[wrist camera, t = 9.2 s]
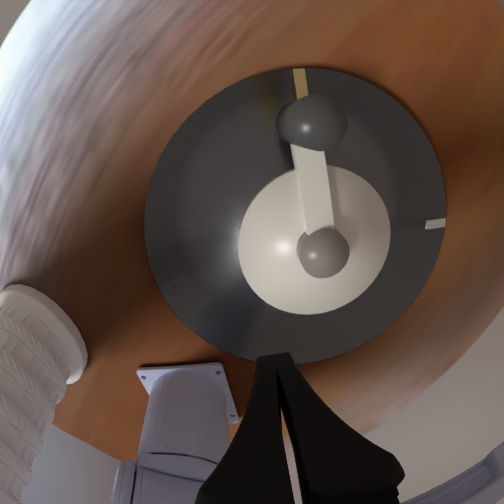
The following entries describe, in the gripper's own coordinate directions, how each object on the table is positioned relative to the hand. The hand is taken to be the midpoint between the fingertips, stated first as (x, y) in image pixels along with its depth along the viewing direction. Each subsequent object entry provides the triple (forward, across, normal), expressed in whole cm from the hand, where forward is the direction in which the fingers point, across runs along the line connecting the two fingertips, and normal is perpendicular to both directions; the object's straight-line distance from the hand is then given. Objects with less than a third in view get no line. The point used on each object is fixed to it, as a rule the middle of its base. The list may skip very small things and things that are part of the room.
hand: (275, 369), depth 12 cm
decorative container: (+10, +22, +4) cm, 24 cm away
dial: (+8, -4, -4) cm, 10 cm away
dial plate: (+9, -4, -2) cm, 10 cm away
